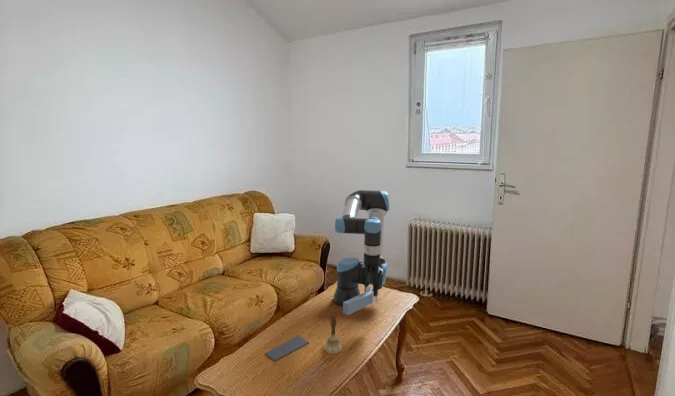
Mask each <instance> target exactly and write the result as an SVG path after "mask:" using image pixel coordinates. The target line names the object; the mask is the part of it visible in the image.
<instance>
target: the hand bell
mask: <svg viewBox="0 0 675 396" xmlns="http://www.w3.org/2000/svg"><path fill="white" fill-rule="evenodd" d="M337 321H338V320H337V317H336V314H335V313H332V314H331V317H330V321H329V323H330V327H331V330H330V331H331V333H330V334H329V335H328V336H327V341H326V343H325V344H324V345H323V347H322V348H323V351H324V352H326V353H327V354H330V355H335V354H336V355H337V354H339V353H341V352H342V351H343V346H342V344H341V343H340V341H339V336H338V335H337V334H336V326H337Z"/></svg>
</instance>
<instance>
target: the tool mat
mask: <svg viewBox="0 0 675 396" xmlns="http://www.w3.org/2000/svg"><path fill="white" fill-rule="evenodd" d="M309 344H310V341H308V340H307V339H305V338H303V337H301V335H297V336H295V337H293V338H291V339H289V340H287V341H285V342H284V343H281V344H280V345H278V346H276V347H275V346H274V348H272V349H270V350H268V351H266V352H265V353H264V354H265V355H266V356H267V357H268V356H269V357H268V358H270V359H271V360H272V361H273V362H277V361H279V360H281V359H283V358H285V357H286V356H289V355H291V354H292V353H294V352H296V351H297V350H299V349H301V348H303V347H305V346H307V345H309Z"/></svg>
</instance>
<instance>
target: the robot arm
mask: <svg viewBox="0 0 675 396" xmlns="http://www.w3.org/2000/svg"><path fill="white" fill-rule="evenodd" d="M359 211H365V212H366V213H365V214H367V216H368V218H361V217H359V218H358V214H359ZM389 211H390V200H389V194H388V192H387V191H386V190H366V189H365V190H364V189H361V190H356V191H353V192H352V193H350V194H349V195H348V196H346V199H345V201H344V209H343V212H342V214H341V216H340V217H336V218H335V221H334V231H335V233H337V234H347V235H348V234H349V235H351V234H353V235H364V238H363V239H364V243H363V261H360V260H359V258H357V257H345V258H342V259H340V260H339V261H338V262H337V266H336V288H335V292H334V294H333V302H334V303H335V305H337V306H340V307H343V302H345V301H347V300H349V299H351V298H354V297H356V296H358V295H360V294H361V292H360V288H359V285H363V286H364V293H365V292H367V291H369V290H371V289H372V300H371V303H372V304H374V303H376V302H377V301H376V296H377V297H378V295H379V292H378V291H379V290H381V289H382V288H383V286H384V285H385V283H386V279H387V278H386V277H387V271H388V265H389V264H388V263H387V262H386V259H385V258H384V257H383V255H384V254H383V253H384V252H383V251H384V250H383V249H384V248H383V247H384V226H385V225H384V223H385V222H384V221H385V220H384V218H385V216H386V215H387V212H389ZM371 287H372V288H371Z"/></svg>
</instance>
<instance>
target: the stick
mask: <svg viewBox="0 0 675 396" xmlns="http://www.w3.org/2000/svg"><path fill="white" fill-rule="evenodd" d="M372 289H373V288H370V290H369V291H367V292H365V291H364V292H363V293H360V295H358V296H356V297H354V298H351V299H349V300H347V301H345V302H343V306H342V314H344V315H346V316H349V315H352V314H354V313H356V312H358V311H359V310H361V309H363V308H366V307H368V306H369V305H372V304H373V303H371V300H372ZM377 301H378V295H377V296H376V302H377Z"/></svg>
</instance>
